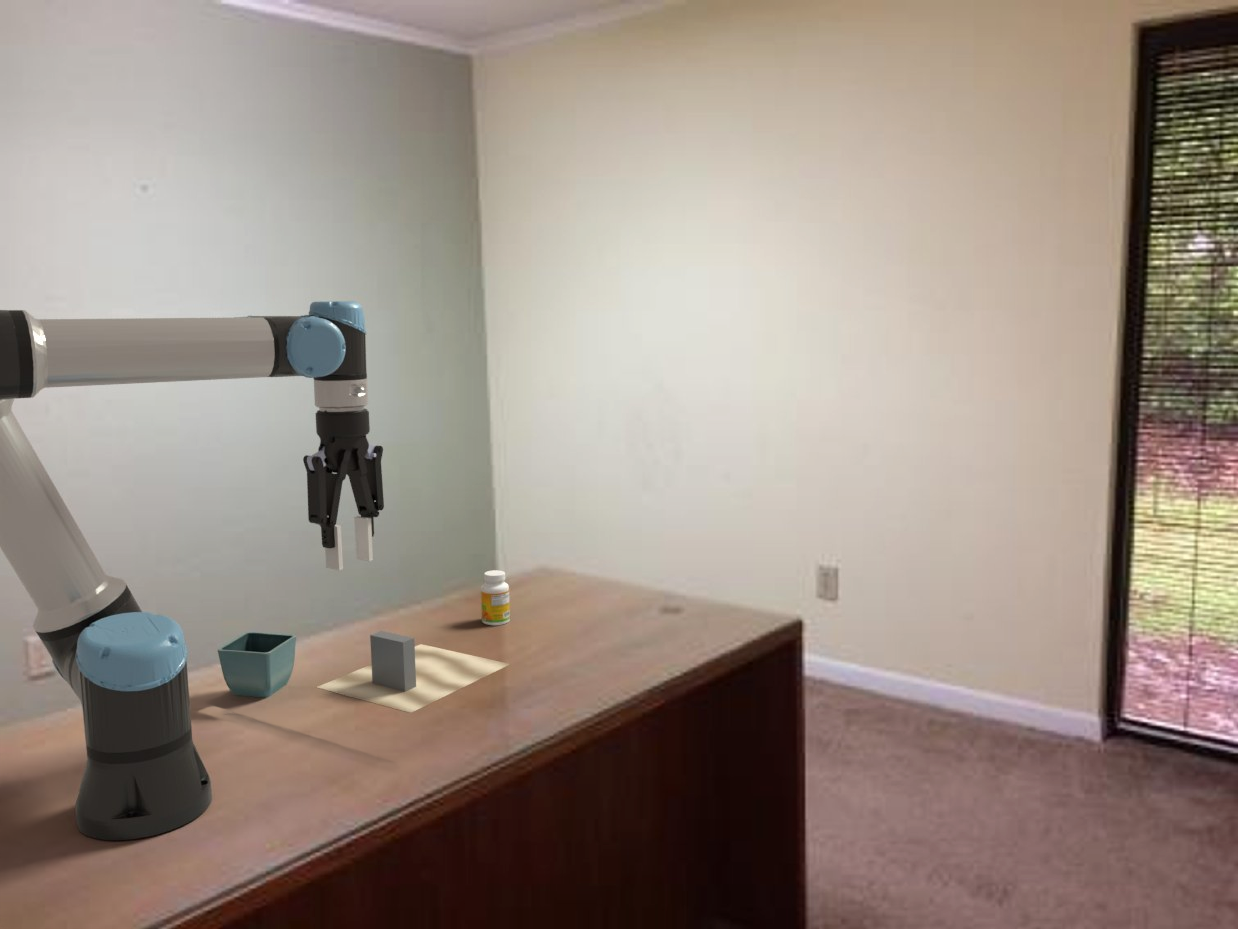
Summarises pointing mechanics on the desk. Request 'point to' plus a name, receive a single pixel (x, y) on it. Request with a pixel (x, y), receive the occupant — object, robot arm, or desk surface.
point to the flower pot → (258, 663)
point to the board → (418, 679)
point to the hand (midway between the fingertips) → (349, 563)
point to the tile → (393, 661)
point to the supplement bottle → (495, 598)
